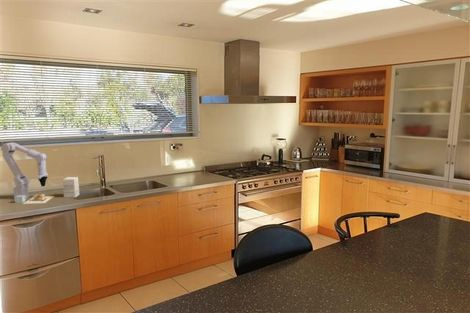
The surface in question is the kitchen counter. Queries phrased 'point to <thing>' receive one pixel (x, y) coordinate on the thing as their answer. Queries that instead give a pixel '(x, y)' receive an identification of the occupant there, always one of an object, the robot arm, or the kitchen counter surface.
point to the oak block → (39, 197)
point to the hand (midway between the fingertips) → (43, 186)
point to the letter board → (38, 201)
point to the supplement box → (71, 187)
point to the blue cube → (20, 199)
